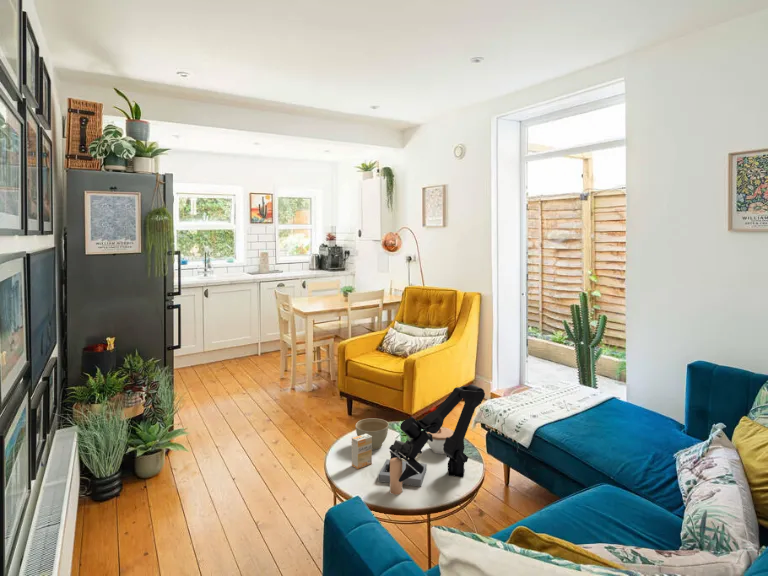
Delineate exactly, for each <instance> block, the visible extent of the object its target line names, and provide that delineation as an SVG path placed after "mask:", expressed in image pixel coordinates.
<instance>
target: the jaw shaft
mask: <svg viewBox="0 0 768 576" xmlns="http://www.w3.org/2000/svg"><path fill="white" fill-rule="evenodd" d="M389 460H390V471H389V473H390V483H389V493H390V494H391V495H395V496H398V495H401V494H402V493H403V484H402V482H399V478H400V477H401V475H402V461H403V458H400V457H399V458H392V459H390V458H389Z"/></svg>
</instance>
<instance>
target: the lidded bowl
mask: <svg viewBox="0 0 768 576" xmlns="http://www.w3.org/2000/svg"><path fill="white" fill-rule="evenodd" d="M427 433H430V432H427ZM453 433H454V431H453V430H452V429H450V428H447V427H441V428H440V429H439V431H438V432H437V433H434V434H432V433H430V434H432V438H433V442H431V441H430V440H428V441H427V445H428V447H429V449H431V450H432V452H433V453H435V454H439V455H444V454H445V453H444V450H443V448H444V446H443V445H444V443H445V440H446V438H447V437H448V438H450V437H451V436H452V435H453Z"/></svg>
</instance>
